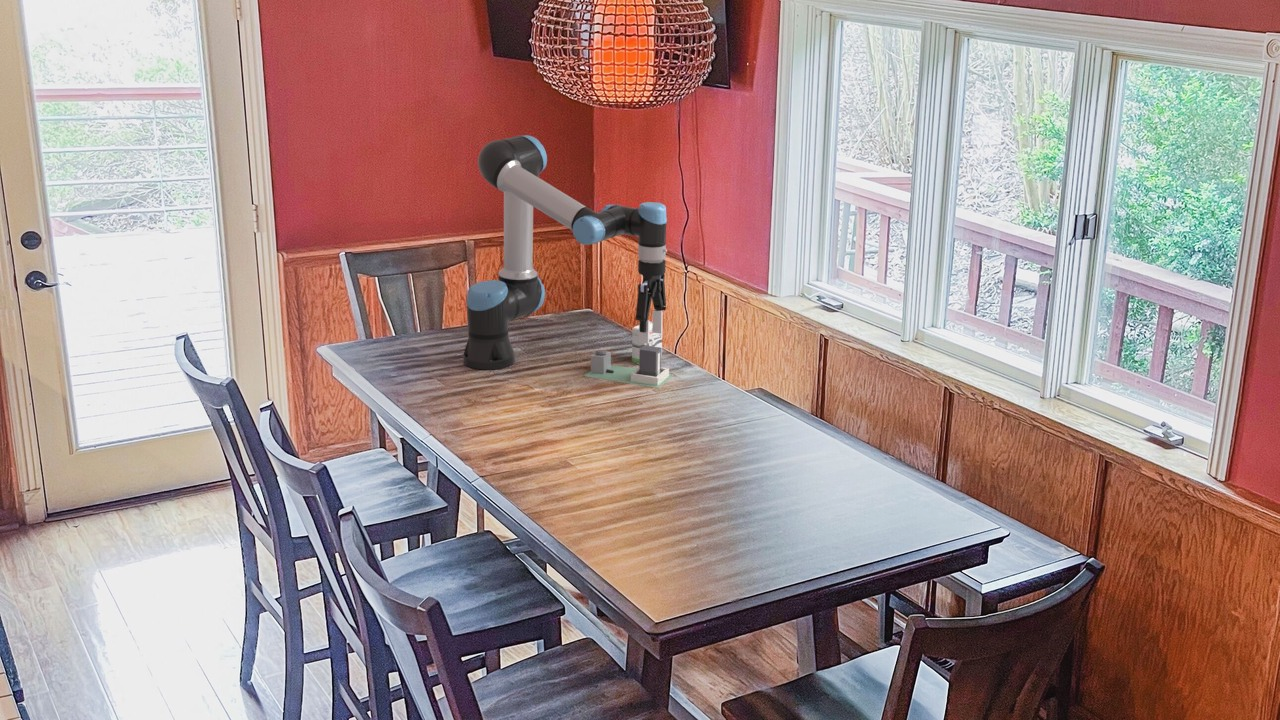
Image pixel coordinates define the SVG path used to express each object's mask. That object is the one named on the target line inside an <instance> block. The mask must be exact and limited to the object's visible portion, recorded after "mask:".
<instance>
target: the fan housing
mask: <svg viewBox="0 0 1280 720" xmlns="http://www.w3.org/2000/svg"><path fill="white" fill-rule="evenodd" d="M611 365H612V352H611V351H607V350H604V349H603V350H601V349H599V350H595V352H594V353H592V354H591V355H590V371H591V372H594V373H601V374H604V373H606V372H610V373H613V372H614V371H613V370H610V369H611Z"/></svg>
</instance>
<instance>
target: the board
mask: <svg viewBox="0 0 1280 720" xmlns="http://www.w3.org/2000/svg"><path fill="white" fill-rule="evenodd" d="M637 369H638V368H634V367H628V366H622V365H621V366H620V365H614V364H611V369H610V370H613V371H614V372H613V373H610V372H606V373H604V374H601V373H594V372H591V370H590V371H588V372H587V373H586V374H584V375H583V377H586V378H592V379H598V380H605V381H612V382H617V383H618V382H619V383H624V384H630V385H635V386H642V387H648V388H655V389H659V388H661V386H663V385H664V384H665V383H666V382H668V381H669V380H670V379H671V378H672V377H673V376H674V374H673V373H669V376H668V377H667V378H666V379H665V380H664V381H662V382H661V383H660V384H659V385H658V386H657V385H651V384H644V383H638V382H632V381H631V374H632V373H633V372H634V371H635V370H637Z"/></svg>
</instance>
